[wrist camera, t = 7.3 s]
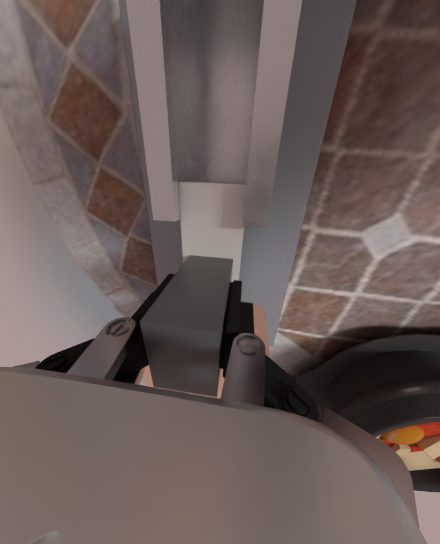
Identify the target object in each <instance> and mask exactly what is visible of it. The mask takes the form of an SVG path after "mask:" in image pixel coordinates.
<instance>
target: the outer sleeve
mask: <svg viewBox="0 0 440 544" xmlns="http://www.w3.org/2000/svg"><path fill="white" fill-rule="evenodd" d="M126 4H127V13H128V21H129V29H130V37H131V45H132V53H133V61H134V69H135V77H136V85H137V93H138V101H139V109H140V117H141V125H142V133H143V141H144V149H145V157H146V165H147V173H148V181H149V189H150V197H151V205H152V213H153V220H159V221H173V222H176V221H177V220H179V219H180V202H179V185H178V182H181V181H211V182H232V183H247V184H246V194H245V205H244V215H243V226H244V227H258V228H267V222H268V216H269V210H270V203H271V197H272V190H273V184H274V178H275V171H276V165H277V158H278V152H279V146H280V139H281V133H282V126H283V120H284V114H285V107H286V101H287V94H288V88H289V82H290V75H291V69H292V62H293V56H294V49H295V43H296V37H297V30H298V24H299V17H300V11H301V5H302V0H126Z"/></svg>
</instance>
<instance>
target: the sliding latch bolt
mask: <svg viewBox="0 0 440 544" xmlns="http://www.w3.org/2000/svg"><path fill="white" fill-rule="evenodd" d="M246 184H247V183H232V182H211V181H181V182H178V185H179V202H180V220H181V237H182V254H183V265H182V266H181V267H180V269H179V270H178V271H177V273H176V274H175V275H174V277H173V278H172V279H171V281H170V282H169V283H168V285H167V286H166V287H165V289H164V290H163V291H162V293H161V294H160V295H159V297H158V298H157V299H156V301H155V302H154V303H153V305H152V306H151V307H150V309H149V310H148V311H147V313H146V314H145V315H144V317H143V318H142V319H141V320H140V325H141V330H142V335H143V339H144V344H145V349H146V354H147V358H148V363H149V368H150V373H151V377H152V382H153V387H157V388H163V389H169V390H175V391H181V392H187V393H193V394H200V395H206V396H212V397H217V394H218V387H219V379H220V372H221V369H220V365H221V349H222V332H223V322H224V316H225V310H226V304H227V298H228V292H229V286H230V282H233V280H239V273H240V263H241V253H242V243H243V233H244V226H243V215H244V205H245V194H246Z"/></svg>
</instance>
